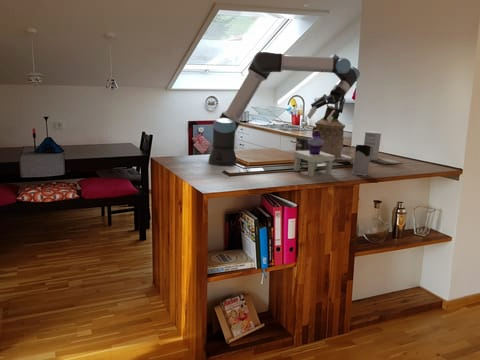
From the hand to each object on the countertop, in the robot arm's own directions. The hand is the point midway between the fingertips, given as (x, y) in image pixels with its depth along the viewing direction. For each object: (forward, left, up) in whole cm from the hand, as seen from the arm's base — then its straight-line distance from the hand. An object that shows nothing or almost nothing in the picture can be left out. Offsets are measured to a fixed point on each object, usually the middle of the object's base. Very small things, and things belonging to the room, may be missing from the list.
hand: (318, 118), depth 241 cm
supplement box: (+56, +13, -27) cm, 63 cm away
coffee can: (+5, +15, -27) cm, 31 cm away
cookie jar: (+31, +26, -27) cm, 49 cm away
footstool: (-6, -7, -27) cm, 29 cm away
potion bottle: (-6, -8, -17) cm, 20 cm away
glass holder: (+20, -17, -27) cm, 38 cm away
